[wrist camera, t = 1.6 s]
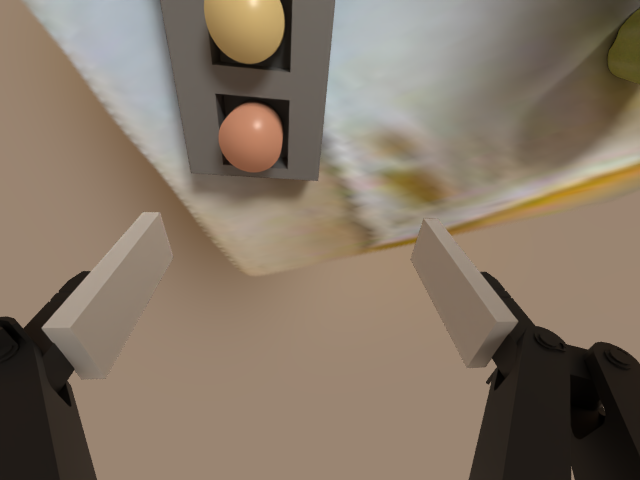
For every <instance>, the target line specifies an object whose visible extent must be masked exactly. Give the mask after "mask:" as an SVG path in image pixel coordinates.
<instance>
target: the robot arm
mask: <svg viewBox="0 0 640 480" xmlns="http://www.w3.org/2000/svg"><path fill="white" fill-rule="evenodd" d="M172 259H173V254H172V251H171V247H170V244H169V241H168V238H167V234H166V231H165V227H164V224H163V221H162V217H161V214H160V212H143V213H142V214H141V215H140V216H139V217H138V219H137V220H136V221H135V222H134V223H133V224H132V226H131V227H130V228H129V229H128V230H127V231H126V232H125V233H124V235H123V236H122V237H121V238H120V239H119V240H118V241H117V243H116V244H115V245H114V246H113V247H112V248H111V249H110V251H109V252H108V253H107V254H106V255H105V256H104V257H103V258H102V260H101V261H100V262H99V263H98V264H97V265H96V266H95V268H94V269H93V270H92V271H83V272H81V273H79V274H78V275H76V276H75V277H73V278H72V279H70V280H69V281H68V282H67V283H66V284H65V285H64V286H63V287H62V288H61V289H60V290H59V293H56V294H55V295H54V296H53V298H52V299H51V301H50V302H48V303H47V304H46V305H45V306H44V307H43V308H42V309H41V310H40V311H39V312H38V314H37V315H36V316H35V317H34V318H33V319H32V320H31V321H30V322H29V323H28V324H27V325H26V326H25V327H24V328H22V327H21V326H20V325H19V323H18V322H17V321H16V320H15V319H14V318H11V317H0V480H97V478H96V474H95V471H94V467H93V463H92V460H91V456H90V453H89V449H88V446H87V442H86V438H85V434H84V431H83V428H82V424H81V420H80V417H79V413H78V409H77V405H76V402H75V398H74V395H73V391H72V388H71V385H70V384H69V382H68V381H67V380H68V379H69V377H70V375H71V374H72V373H73V371H74V370H75V372H76V373H77V374H78V375H79V377H80V378H81V379H106V377H107V375H108V374H109V372H110V370H111V368H112V366H113V365H114V363H115V361H116V359H117V357H118V356H119V354H120V352H121V350H122V348H123V347H124V345H125V343H126V341H127V340H128V338H129V336H130V334H131V332H132V331H133V329H134V327H135V325H136V323H137V322H138V320H139V318H140V316H141V315H142V313H143V311H144V309H145V307H146V306H147V304H148V302H149V300H150V298H151V296H152V295H153V293H154V291H155V289H156V288H157V286H158V284H159V282H160V281H161V279H162V277H163V275H164V273H165V272H166V270H167V268H168V266H169V264H170V263H171V261H172ZM411 261H412V263H413V265H414V267H415V269H416V271H417V273H418V275H419V277H420V278H421V280H422V282H423V284H424V286H425V288H426V290H427V292H428V294H429V296H430V298H431V299H432V302H433V304H434V305H435V307H436V309H437V311H438V313H439V315H440V317H441V319H442V321H443V323H444V325H445V326H446V329H447V331H448V333H449V334H450V336H451V338H452V340H453V342H454V344H455V346H456V348H457V350H458V352H459V354H460V355H461V358H462V360H463V362H464V363H465V365H466V367H467V368H479V367H486V366H487V364H488V363H489V361H490V360H491V359H493V360H494V362H495V364H496V365H497V368H496V369H495V371H494V372H493V373H492V374H491V376H490V377H489V378H488V380H487V381H486V383H487V384H489V383H490V382H491V381H492V382H491V386H490V390H489V395H488V399H487V403H486V408H485V412H484V416H483V421H482V425H481V429H480V434H479V438H478V442H477V446H476V451H475V455H474V459H473V464H472V468H471V473H470V477H469V480H571V467H572V470H573V474H574V478H575V480H640V364H639V362H638V361H637V360H636V359H635V358H634V357H633V356H631V355H630V354H629V353H628V352H626V351H625V350H623V349H621V348H619V347H617V346H615V345H612V344H610V343H605V342H597V343H595V344H594V345H593V346H592V347H591V348H590V349H588V350H587V349H583V348H579V347H575V346H571V345H567V344H565V342H564V341H563V340H562V339H561V338H560V337H559V336H558V335H556V334H555V333H553V332H551V331H550V330H548V329H545V328H542V327H539V326H535V325H534V324H533V323H532V321H531V320H530V319H529V318H528V316H527V315H526V314H525V313H524V312H523V310H522V309H521V308H520V307H519V306H518V304H517V303H516V302H515V301H514V300H513V298H511V296H510V295H509V294H508V292H507V291H505V289H504V288H503V286H502V285H501V284H500V283H499V282H498V280H497V279H495V278H494V277H492V276H491V275H490V274H488V273H487V272H479V270H478V269H477V268H476V267H475V266H474V264H473V263H472V262H471V261H470V259H469V258H468V257H467V255H466V254H465V253H464V251H463V250H462V249H461V248H460V246H459V245H458V244H457V242H456V241H455V240H454V239H453V237H452V236H451V235H450V234H449V232H448V231H447V230H446V228H445V227H444V226H443V225H442V223H441V222H440V221H439V219H436V218H424V219H423V222H422V225H421V228H420V231H419V234H418V238H417V241H416V244H415V247H414V250H413V253H412V256H411ZM603 407H604V408H603ZM604 410H605V411H604Z"/></svg>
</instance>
